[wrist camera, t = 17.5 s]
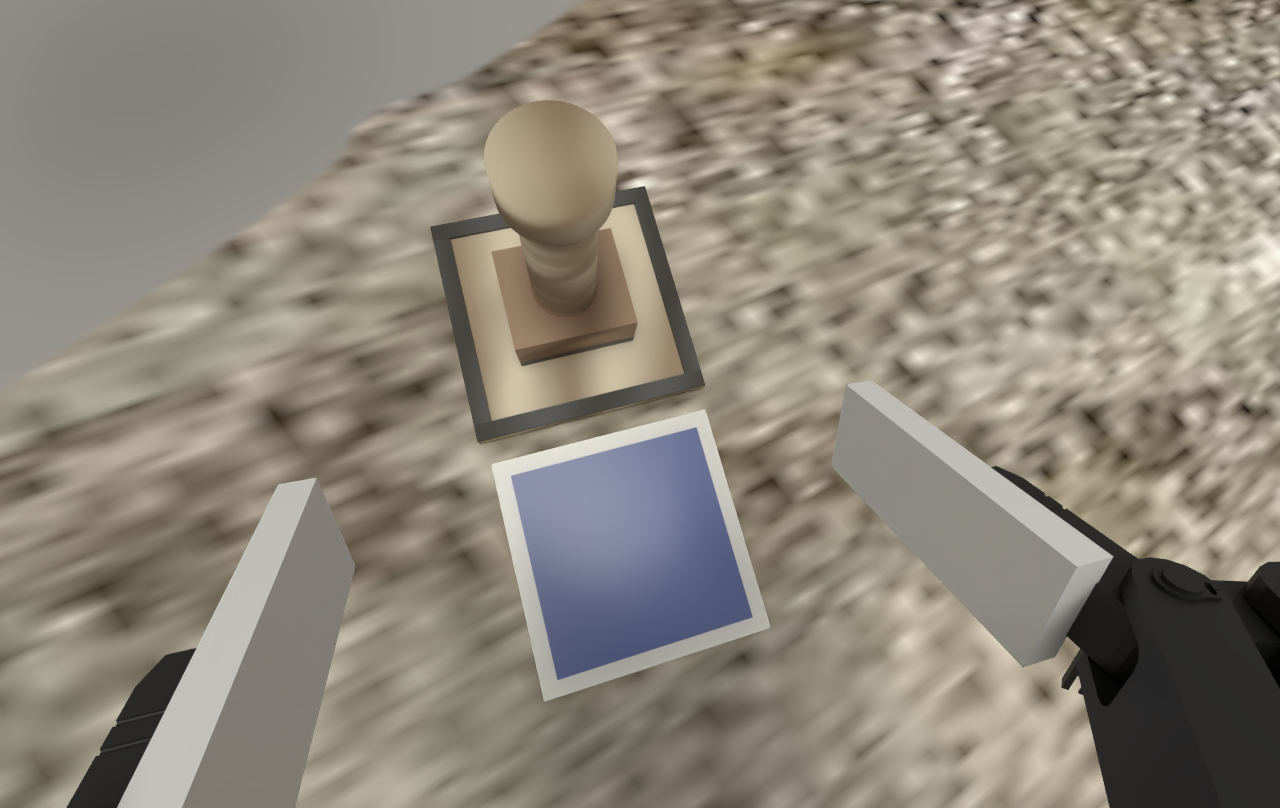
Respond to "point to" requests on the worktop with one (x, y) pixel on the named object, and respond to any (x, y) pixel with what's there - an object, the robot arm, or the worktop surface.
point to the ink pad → (627, 552)
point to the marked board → (574, 382)
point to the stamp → (558, 231)
